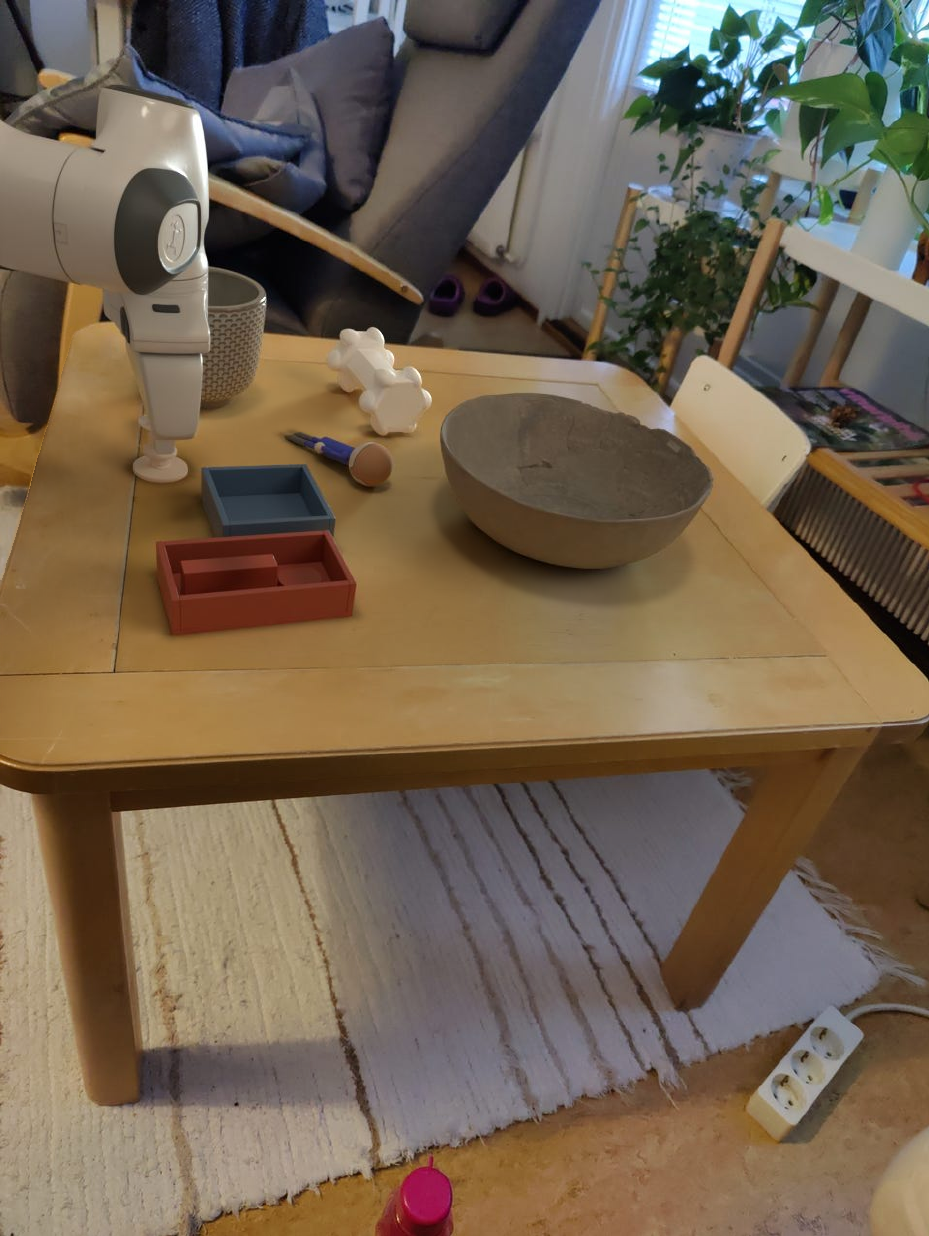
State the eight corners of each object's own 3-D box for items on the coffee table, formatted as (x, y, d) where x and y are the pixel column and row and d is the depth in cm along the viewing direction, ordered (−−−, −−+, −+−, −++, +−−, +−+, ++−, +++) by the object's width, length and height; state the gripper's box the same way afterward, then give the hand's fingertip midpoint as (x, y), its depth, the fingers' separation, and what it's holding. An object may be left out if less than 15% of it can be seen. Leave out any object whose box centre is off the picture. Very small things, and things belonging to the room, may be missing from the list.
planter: (264, 427, 99) (270, 314, 91) (134, 419, 95) (129, 300, 87) (258, 376, 109) (263, 271, 102) (141, 367, 105) (136, 256, 98)
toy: (270, 450, 97) (366, 491, 89) (279, 409, 96) (377, 447, 88) (299, 453, 101) (395, 493, 93) (308, 414, 100) (406, 451, 92)
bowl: (730, 569, 93) (766, 488, 87) (542, 636, 78) (571, 542, 72) (561, 450, 109) (582, 374, 103) (376, 486, 93) (389, 399, 87)
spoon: (186, 612, 70) (186, 580, 68) (178, 585, 73) (178, 553, 71) (326, 599, 75) (329, 568, 73) (314, 573, 78) (317, 543, 76)
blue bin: (222, 559, 78) (222, 525, 76) (201, 499, 85) (201, 467, 83) (332, 550, 82) (335, 518, 80) (303, 494, 89) (306, 463, 87)
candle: (183, 457, 90) (182, 361, 84) (191, 482, 87) (191, 384, 81) (129, 458, 88) (125, 360, 82) (136, 484, 85) (132, 384, 78)
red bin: (172, 637, 68) (171, 600, 66) (156, 576, 74) (155, 541, 72) (352, 617, 75) (356, 583, 72) (325, 562, 80) (328, 529, 78)
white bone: (429, 438, 105) (440, 373, 100) (361, 440, 101) (370, 374, 96) (383, 384, 115) (391, 323, 110) (320, 385, 111) (326, 322, 106)
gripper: (105, 256, 83) (113, 392, 91) (133, 340, 69) (139, 492, 77) (174, 260, 86) (175, 392, 94) (214, 342, 72) (212, 489, 80)
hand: (159, 438), depth 85 cm, fingers closed on candle, 4 cm apart
